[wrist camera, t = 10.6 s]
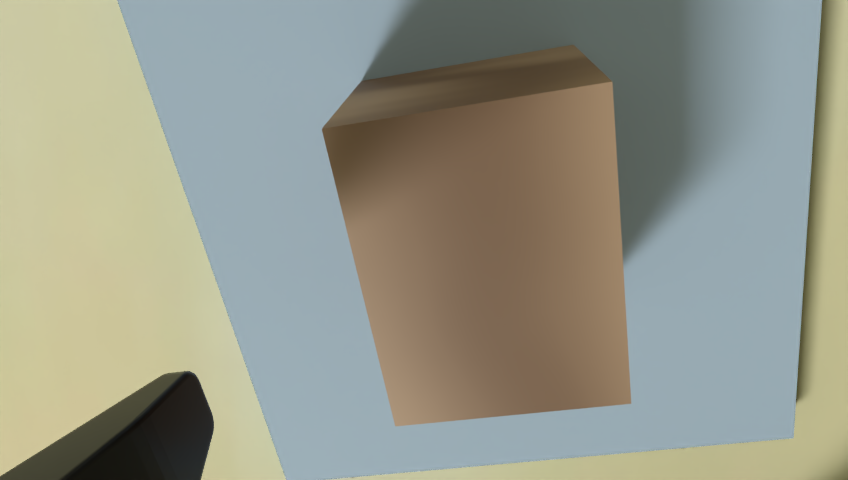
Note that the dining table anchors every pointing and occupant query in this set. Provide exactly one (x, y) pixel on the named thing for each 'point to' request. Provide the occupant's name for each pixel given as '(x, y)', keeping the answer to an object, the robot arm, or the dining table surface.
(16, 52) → the dining table surface
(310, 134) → the mat
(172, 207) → the dining table surface
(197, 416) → the robot arm
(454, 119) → the walnut block
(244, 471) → the dining table surface
